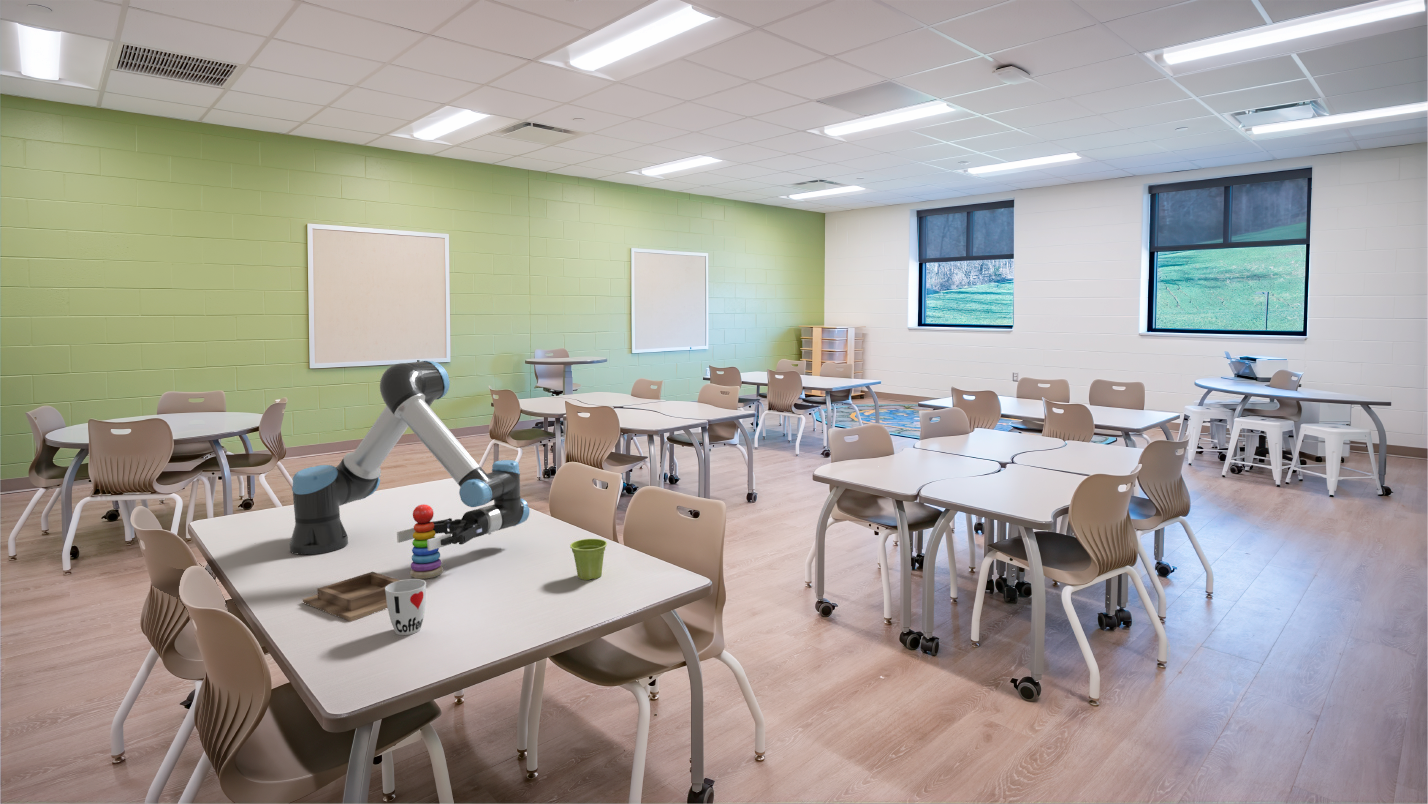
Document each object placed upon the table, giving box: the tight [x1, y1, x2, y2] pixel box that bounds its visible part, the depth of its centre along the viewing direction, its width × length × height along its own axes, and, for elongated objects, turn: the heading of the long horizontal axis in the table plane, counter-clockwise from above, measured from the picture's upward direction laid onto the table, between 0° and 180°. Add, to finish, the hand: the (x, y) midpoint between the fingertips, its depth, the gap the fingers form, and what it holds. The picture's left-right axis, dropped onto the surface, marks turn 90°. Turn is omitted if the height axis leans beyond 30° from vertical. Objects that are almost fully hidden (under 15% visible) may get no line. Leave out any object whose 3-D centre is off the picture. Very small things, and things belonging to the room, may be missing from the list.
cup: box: [385, 578, 427, 636], centre depth 159 cm, size 8×8×10 cm
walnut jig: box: [302, 571, 402, 622], centre depth 177 cm, size 20×18×4 cm
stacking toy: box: [410, 503, 444, 580], centre depth 193 cm, size 8×8×19 cm
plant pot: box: [569, 538, 608, 581], centre depth 192 cm, size 9×9×9 cm
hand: (412, 541), depth 190 cm, fingers open, 12 cm apart
